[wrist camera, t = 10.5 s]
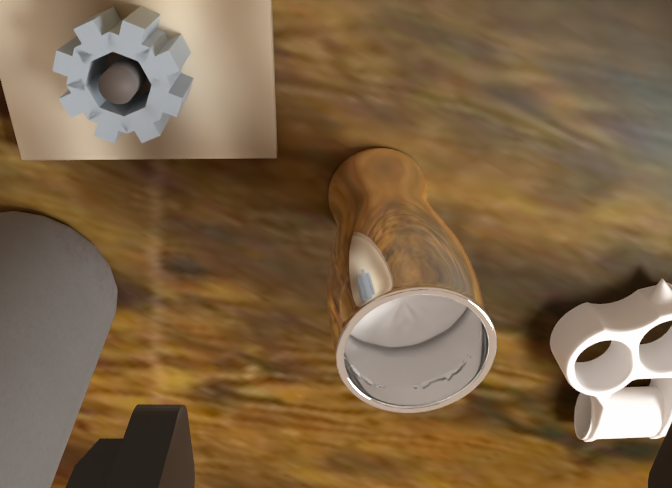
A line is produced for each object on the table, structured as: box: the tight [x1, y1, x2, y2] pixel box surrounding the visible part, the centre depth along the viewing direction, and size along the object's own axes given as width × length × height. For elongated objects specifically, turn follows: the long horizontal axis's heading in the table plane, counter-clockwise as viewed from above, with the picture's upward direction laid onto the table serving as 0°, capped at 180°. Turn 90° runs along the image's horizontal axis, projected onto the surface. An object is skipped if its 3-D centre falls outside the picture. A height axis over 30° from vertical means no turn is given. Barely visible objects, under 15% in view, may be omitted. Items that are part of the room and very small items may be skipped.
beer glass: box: [327, 148, 497, 413], centre depth 31 cm, size 7×7×15 cm
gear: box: [52, 6, 194, 143], centre depth 30 cm, size 6×6×4 cm
